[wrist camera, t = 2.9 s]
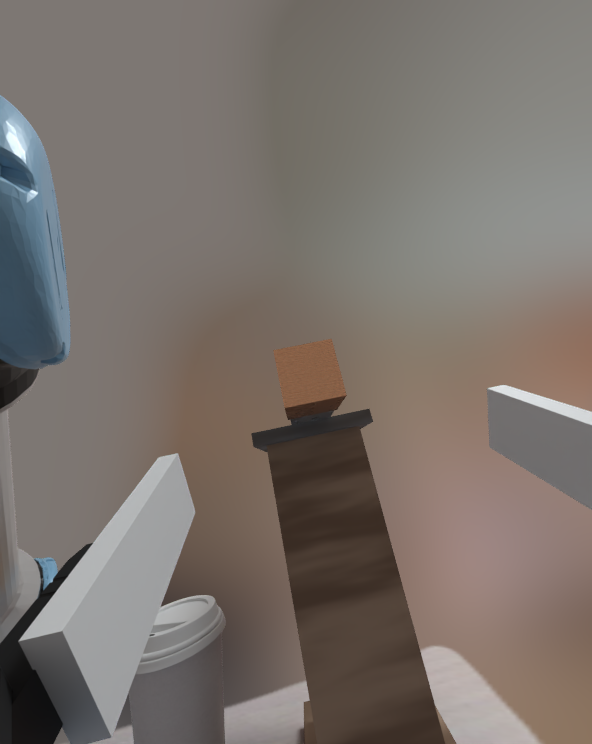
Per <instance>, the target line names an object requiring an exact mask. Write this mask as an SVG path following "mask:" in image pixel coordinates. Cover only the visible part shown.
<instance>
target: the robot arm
mask: <svg viewBox="0 0 592 744" xmlns="http://www.w3.org/2000/svg"><path fill="white" fill-rule="evenodd" d="M69 350H70V314H69V304H68V294H67V285H66V267H65V258H64V250H63V242H62V234H61V227H60V220H59V214H58V207H57V202H56V196H55V190H54V185H53V180H52V175H51V171H50V166H49V162H48V159H47V156H46V153H45V150H44V148H43V145H42V143H41V141H40V139H39V137H38V135H37V134H36V132H35V130H34V129H33V128H32V126H31V125H30V123H29V122H28V121H27V120H26V119H25V117H24V116H23V115H22V114H21V113H20V112H19V111H18V110H17V109H16V108H15V107H14V106H13V105H12V104H11V103H10V102H9V101H7V100H6V99H5V98H4V97H2V96H0V744H53V743H54V741H55V739H56V737H57V735H58V733H59V731H60V729H61V728H63V730H64V732H65V734H66V736H67V738H68V740H69V741H70V743H71V744H88V743H92V742H96V741H100V740H103V739H107V738H111V737H112V735H113V733H114V730H115V727H116V724H117V722H118V719H119V716H120V714H121V711H122V708H123V706H124V703H125V700H126V697H127V695H128V692H129V690H130V687H131V684H132V681H133V679H134V676H135V673H136V671H137V668H138V665H139V663H140V660H141V657H142V655H143V652H144V649H145V646H146V644H147V641H148V638H149V636H150V633H151V630H152V628H153V625H154V622H155V620H156V617H157V614H158V611H159V609H160V606H161V603H162V600H163V598H164V595H165V593H166V590H167V587H168V584H169V582H170V579H171V576H172V574H173V571H174V568H175V566H176V563H177V560H178V558H179V555H180V552H181V550H182V547H183V544H184V542H185V539H186V536H187V533H188V531H189V528H190V525H191V523H192V520H193V517H194V515H195V509H194V505H193V502H192V499H191V495H190V492H189V489H188V485H187V482H186V479H185V476H184V472H183V469H182V466H181V462H180V459H179V456H178V454H173V455H168V456H164V457H159V458H158V459H157V460H156V462H155V463H154V464H153V466H152V467H151V468H150V470H149V471H148V472H147V473H146V475H145V476H144V478H143V479H142V480H141V481H140V483H139V484H138V485H137V487H136V488H135V489H134V491H133V492H132V493H131V494H130V496H129V497H128V498H127V500H126V501H125V502H124V504H123V505H122V506H121V508H120V509H119V510H118V512H117V513H116V514H115V515H114V517H113V518H112V519H111V521H110V522H109V523H108V525H107V526H106V527H105V529H104V530H103V531H102V532H101V534H100V535H99V536H98V538H97V539H96V540H95V542H94V543H91V544H87V545H86V546H84V547H83V548H82V549H81V550H80V551H79V552H77V553H76V554H75V555H74V556H73V557H72V558H70V559H69V560H68V561H67V562H66V563H65V565H64V566H63V567H62V568H61V570H60V571H59V572H57V565H56V562H55V560H54V559H53V558H43V559H40V558H35V559H33V558H32V557H31V556H30V555H29V554H27V553H26V552H25V551H23V550H21V549H19V548H18V545H17V544H18V543H17V529H16V516H15V502H14V488H13V475H12V462H11V461H12V460H11V447H10V433H9V419H8V409H9V408H10V407H12V406H13V405H14V404H16V403H17V402H18V401H20V400H21V399H22V398H23V397H24V396H25V395H26V394H27V393H28V392H29V391H30V390H31V388H32V387H33V386H34V384H35V383H36V380H37V377H38V374H39V368H40V369H42V368H44V367H46V366H48V365H56V364H60V363H62V362H63V361H65V360H66V359H67V357H68V355H69ZM487 395H488V421H489V445H490V448H492V449H493V450H495V451H497V452H498V453H500V454H502V455H503V456H505V457H506V458H508V459H510V460H512V461H513V462H515V463H516V464H518V465H520V466H521V467H523V468H524V469H526V470H528V471H529V472H531V473H533V474H534V475H536V476H538V477H539V478H541V479H542V480H544V481H546V482H547V483H549V484H550V485H552V486H554V487H556V488H557V489H559V490H560V491H562V492H563V493H565V494H567V495H568V496H570V497H572V498H573V499H575V500H576V501H578V502H580V503H581V504H583V505H585V506H586V507H588V508H589V509H591V510H592V412H590V411H587V410H584V409H581V408H577V407H574V406H571V405H567V404H564V403H561V402H558V401H554V400H552V399H548V398H545V397H542V396H538V395H535V394H532V393H529V392H526V391H522V390H519V389H516V388H513V387H510V386H506V385H501V386H496V387H492V388H487Z"/></svg>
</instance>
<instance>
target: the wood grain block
mask: <svg viewBox="0 0 592 744" xmlns="http://www.w3.org/2000/svg"><path fill="white" fill-rule="evenodd" d="M274 355H275V361H276V366H277V370H278V376H279V381H280V386H281V391H282V396H283V401H284V406H285V410H286V414H287V418H288V420H291V424H292V425H295V424H299V423H304V422H309V421H314V420H318V419H323V418H328V417H331V415H332V413H333V412H334V410H337V409H338V407H339V406H340V404H341V403H342V401H343V400H344V398H345V397H346V391H345V388H344V384H343V380H342V376H341V373H340V369H339V365H338V361H337V358H336V354H335V350H334V346H333V343H332V339H328V340H323V341H319V342H313V343H308V344H303V345H298V346H293V347H288V348H283V349H278V350H274Z"/></svg>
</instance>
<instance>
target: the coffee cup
mask: <svg viewBox="0 0 592 744" xmlns="http://www.w3.org/2000/svg"><path fill="white" fill-rule="evenodd" d="M225 624H226V620H225V617H224V614H223V612H222V610H221V608H220V607H219V606H217V604H216V601H215V599H214V597H212V596H208V595H198V596H192V597H188V598H184V599H181V600H178V601H175V602H172V603H169V604H167V605H165V606H162V607H160V609H159V611H158V614H157V617H156V620H155V622H154V625H153V628H152V630H151V633H150V636H149V638H148V641H147V644H146V646H145V649H144V652H143V655H142V657H141V660H140V663H139V665H138V668H137V671H136V673H135V676H134V679H133V681H132V684H131V687H130V690H129V697H130V708H131V717H132V727H133V737H134V744H225V731H224V702H223V666H222V631H223V629H224V627H225Z"/></svg>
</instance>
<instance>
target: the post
mask: <svg viewBox="0 0 592 744" xmlns="http://www.w3.org/2000/svg"><path fill="white" fill-rule="evenodd" d="M371 422H373V420H372V416H371V413H370V410H369V409H366V410H361V411H356V412H352V413H347V414H343V415H338V416H333V417H328V418H323V419H318V420H314V421H309V422H304V423H299V424H295V425H290V426H285V427H281V428H276V429H271V430H266V431H261V432H257V433H252V440H253V446H254V447H255V448H258V449H260V450H263V451H265V452H268V457H269V463H270V469H271V474H272V481H273V487H274V493H275V498H276V504H277V510H278V516H279V522H280V528H281V534H282V539H283V546H284V551H285V557H286V563H287V569H288V575H289V581H290V587H291V593H292V598H293V604H294V610H295V616H296V622H297V628H298V634H299V640H300V646H301V651H302V657H303V663H304V669H305V675H306V681H307V687H308V693H309V699H310V701H307V702H304V744H456V742H455V740H454V738H453V737H452V735H451V733H450V731H449V730H448V728H447V726H446V724H445V722H444V721H443V719H442V717H441V715H440V713H439V712H438V710H437V708H436V706H435V704H434V700H433V696H432V693H431V689H430V685H429V682H428V678H427V674H426V671H425V667H424V663H423V660H422V656H421V652H420V649H419V645H418V641H417V638H416V634H415V630H414V626H413V623H412V619H411V616H410V612H409V608H408V604H407V601H406V597H405V593H404V590H403V586H402V582H401V579H400V575H399V571H398V568H397V564H396V560H395V556H394V553H393V549H392V545H391V542H390V538H389V534H388V531H387V527H386V523H385V520H384V516H383V512H382V509H381V505H380V501H379V498H378V494H377V490H376V487H375V483H374V479H373V475H372V472H371V468H370V464H369V461H368V457H367V453H366V450H365V446H364V442H363V438H362V435H361V431H360V429H361V428H363V427H365V426H366V425H368V424H370V423H371Z"/></svg>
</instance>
